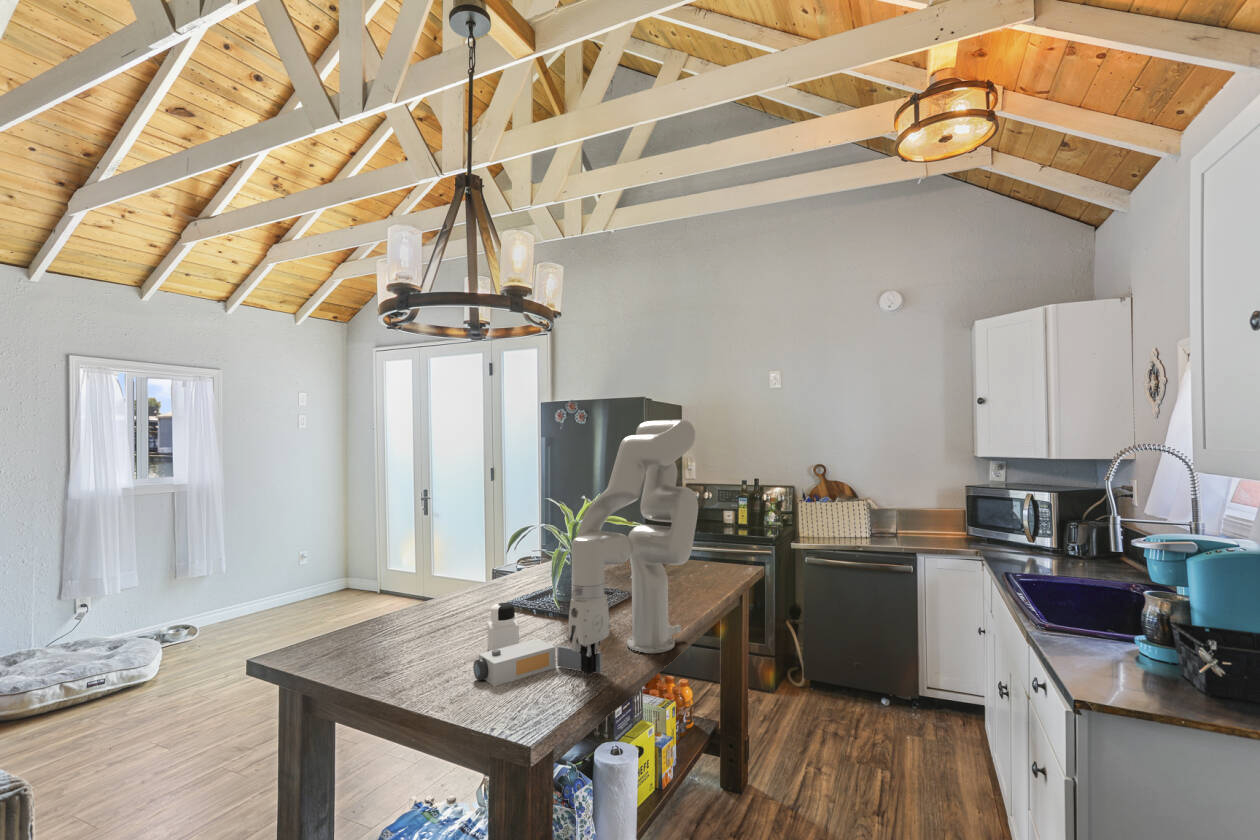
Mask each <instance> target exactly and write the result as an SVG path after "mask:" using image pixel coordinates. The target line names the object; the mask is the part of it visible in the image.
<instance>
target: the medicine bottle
mask: <svg viewBox="0 0 1260 840" xmlns="http://www.w3.org/2000/svg"><path fill="white" fill-rule="evenodd" d="M515 608H516V607H515V605H514V604H513V603H510V602H499V603H495V604H494V605H492V606H491V607H490V621H487V623H486V625H487V633H486V634H487V650H488V651H492V650H496V649H500V648H504V647H507V646H511V645H515V644H519V643H520V626H519V624H518V622H517V621H516V619H515V618H516V616H515V610H516V609H515Z"/></svg>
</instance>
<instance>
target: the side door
mask: <svg viewBox="0 0 1260 840" xmlns="http://www.w3.org/2000/svg"><path fill="white" fill-rule="evenodd" d="M556 651H557V652H556V657H557V658H556V660H557V661H556V665H557V667H558V668H559V667H560V668H565V669H566V668H567V669H572V670H577V671H581V655H580V654H579V652H575V651H572V650H571V647H569V646H563V645H557V646H556ZM602 657H603V656H602V652H601V651H598V652H597V654H596V672H594V673H597V674H601V673H602V667H603V666H602V665H603V663H602V662H603V661H602V660H603V659H602Z"/></svg>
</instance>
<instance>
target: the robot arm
mask: <svg viewBox="0 0 1260 840" xmlns="http://www.w3.org/2000/svg"><path fill="white" fill-rule="evenodd" d="M695 441H696V430H695V427H694V425H693V424H692V422H690V421H689V420H686V419H660V420H658V419H655V420H647V421H644V422H641V423H640V424H639V425H638V426H637V428H636V432H635V434H632V435H628V436H626V437H624V438H623V439H622V440H621V442H620V444H619V447H618V450H617V454H616V457H615V461H614V464H613V469H612V472H611V475H610V478H609V481H608V485H607V487H606V489H605V490H604V491H603V492H602V493H601V494H600V495H598V497H597V498H596V499H595V500H594V501H593V502H592V503H591V505H590V506H589V507H588V508H587V510H586V511H585V512H584V515H583V517H582V520H581V522H580V526H579V529H578V533H577V537H575V538H574V539H573V540H572V543H571V592H570V594H571V599H570V604H569V611H568V612H569V613H568V630H567V631H568V641H569V643H571V647H570V648H571V650H572V651H575V652H579V654H580V655H581V670H580V671H581V673H586V674H590V675H593V674H594V673H595V672H596V654H597V652H599V646H600V644H601V642H603V641H604V640H605V639H607V637H608V636H610V632H611V631H610V629H611V627H610V612H609V611H610V610H609V604H608V603H609V602H608V598H607V594H605V567H606V566H619V565H622V564H625V563H627V561H628V560H629V561H630V570H631V609H632V610H631V614H632V619H631V620H632V621H631V622H632V636H631V637H629V638H628V639H627V640H626V646H628V647H629V648H630V649H629V648H628V647H627V648H628V649H629V650H631V649H632V650H631V651H633V650H635V651H634V652H636V651H639V652H638V653H640V652H644V653H643V654H659V653H665V652H668V651H671V650H672V649H674V648H675V645H676V644H675V639H674V638H673V635H674V634H677V633H681V632H682V626H681V625H680V624H676V625H673V626H672V625H671V624H669V591H668V590H669V589H668V588H669V586H668V585H669V583H668V582H669V579H668V575H667V572H666V569H665V566H664V565H663V564H665V565H671V566H672V565H673V566H681V565H684V564H685V563H687V562H688V560H689V558H691V557H690V556H691V553H692V551H693V544H694V539H695V533H696V528H697V521H698V514H699V501H698V496H697V495H696V493H695V492H694V490H692V489H691V488H689V487H687V486H677V478H678V467H677V464H676V461H677V460H678V459H680V458H681V457H683V455H685V454H686V453H688V452H689V451H690V450H691V448H692V447H693V446H694V443H695ZM640 497H641V498H640ZM639 499H641V501H640V513H641V515H642V517H643V518H644V519H647V520H648V521H649V520H650V521H654V522H665V523H671V526H665V525H659V524H658V525H656V524H639V525H637V526H635V527H633V528H632V529H631V530H630V532H629V533H628V535H626V534H623V533H620V532H611V531H605V530H602V527H603V526H604V524H605V522H606V520H607V519H608V518H609V517H610V516H611V515H612V514H614V513H615V512H617V511H618V510H620V509H622V508H624V507H627V506H628V505H630V504H633V503H634V502H636V501H638V500H639Z"/></svg>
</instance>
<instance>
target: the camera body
mask: <svg viewBox="0 0 1260 840" xmlns="http://www.w3.org/2000/svg"><path fill="white" fill-rule="evenodd" d="M556 657H557V653H556V646H555V645H552V644H551V643H549V642H547V641H544V640H542V639H541V638H535V639H531V640H528V641H527V640H526V641H524V642H519V644H515V645H511V646H507V647H504V648H500V649H496V650H492V651H489V650H488V651H485V652H481V653H478V658H477V659H475V660H474V662H473V667H472V668H473V669H472V670H473V674H474V677H475V679H476V680H477V681H481V680H484V681H486V682H487V683H489V684H491V685H492V686H493V687H497V686H501V685H504V684H506V683H511V682H514V681H517V680H520V679H523V678H527V677H530V676H533V675H538V674H540V673H543V672H546V671H549V670H552V669H556V665H557V661H556V660H557V658H556Z"/></svg>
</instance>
